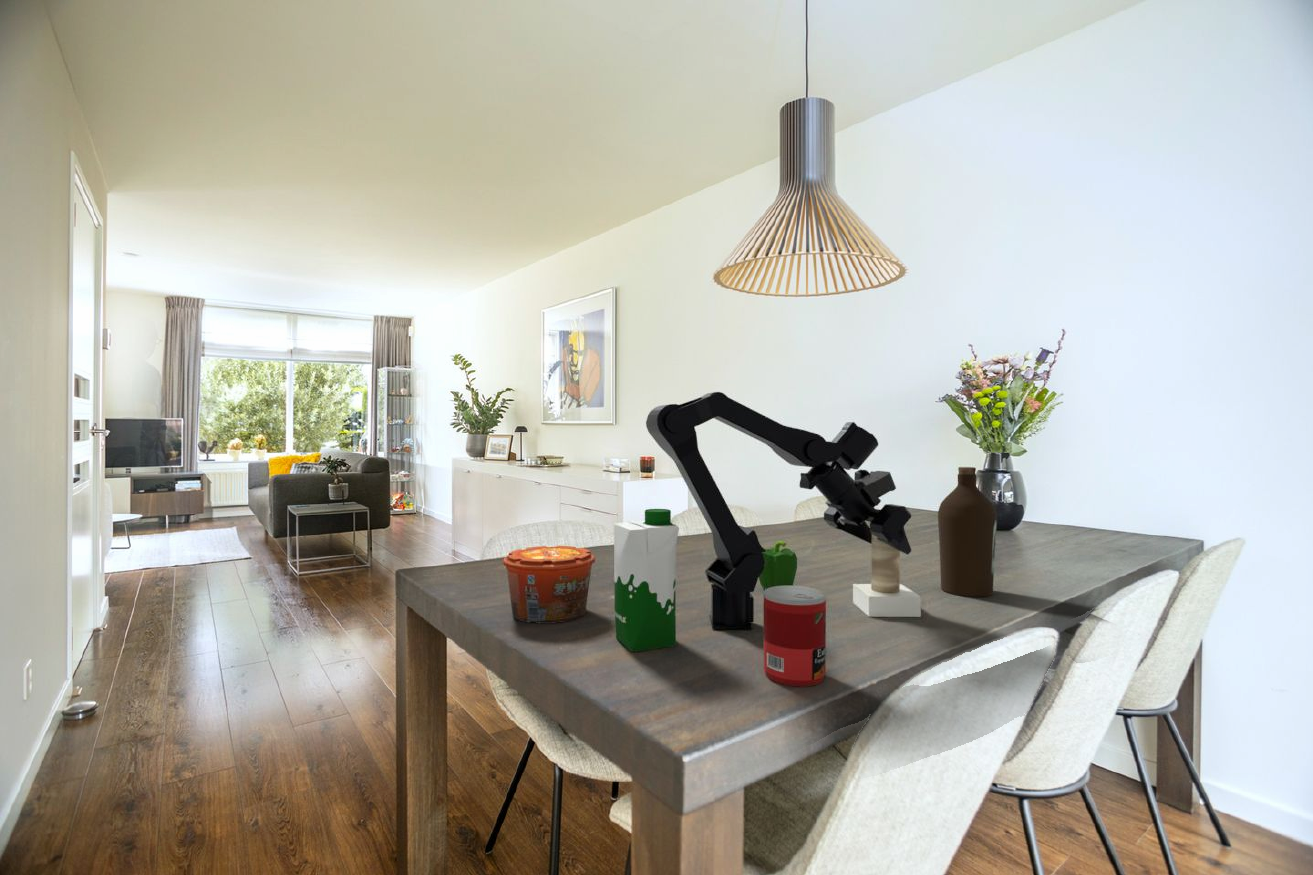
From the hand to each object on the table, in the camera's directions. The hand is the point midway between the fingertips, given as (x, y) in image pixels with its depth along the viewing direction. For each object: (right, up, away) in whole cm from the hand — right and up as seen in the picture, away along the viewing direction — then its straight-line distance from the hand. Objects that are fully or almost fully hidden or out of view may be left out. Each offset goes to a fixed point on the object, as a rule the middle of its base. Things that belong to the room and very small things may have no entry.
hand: (892, 547), depth 113 cm
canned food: (-25, -11, -31) cm, 41 cm away
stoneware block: (-1, -11, 0) cm, 11 cm away
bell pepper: (-18, -11, +15) cm, 26 cm away
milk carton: (-45, -11, -18) cm, 49 cm away
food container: (-62, -11, -3) cm, 63 cm away
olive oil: (+20, -11, +12) cm, 26 cm away
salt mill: (-1, -8, 0) cm, 8 cm away
